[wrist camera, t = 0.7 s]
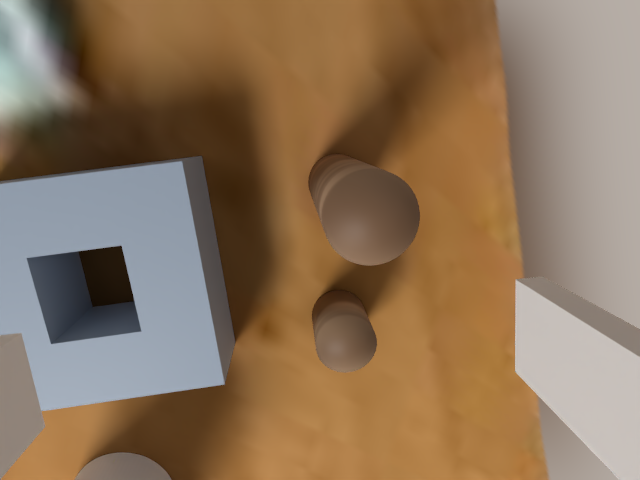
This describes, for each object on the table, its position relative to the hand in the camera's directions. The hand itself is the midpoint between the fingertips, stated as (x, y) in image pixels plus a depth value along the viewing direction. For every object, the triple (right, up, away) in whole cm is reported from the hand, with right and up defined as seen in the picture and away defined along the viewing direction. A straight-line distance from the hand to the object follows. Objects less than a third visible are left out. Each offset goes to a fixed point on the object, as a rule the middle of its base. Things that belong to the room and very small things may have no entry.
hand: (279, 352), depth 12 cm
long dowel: (+2, +7, +20) cm, 21 cm away
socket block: (-13, +1, +20) cm, 24 cm away
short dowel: (+3, -3, +22) cm, 23 cm away
